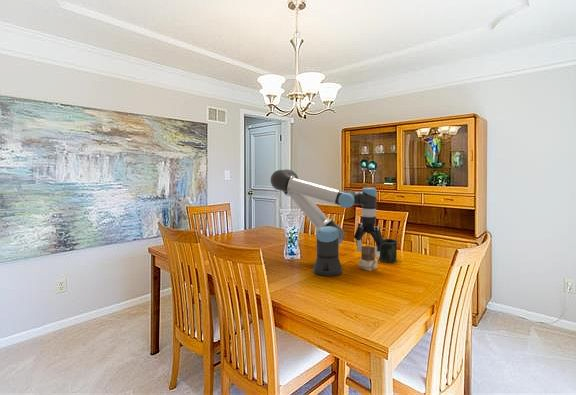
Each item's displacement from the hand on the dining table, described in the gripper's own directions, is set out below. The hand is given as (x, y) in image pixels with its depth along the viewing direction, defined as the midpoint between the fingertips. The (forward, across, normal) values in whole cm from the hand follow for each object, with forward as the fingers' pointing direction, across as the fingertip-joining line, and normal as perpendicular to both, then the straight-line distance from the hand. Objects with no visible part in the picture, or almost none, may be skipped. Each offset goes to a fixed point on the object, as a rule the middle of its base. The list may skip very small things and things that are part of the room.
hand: (368, 254), depth 177 cm
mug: (+8, +5, -22) cm, 24 cm away
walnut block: (+3, 0, 0) cm, 3 cm away
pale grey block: (+8, 0, 0) cm, 8 cm away
